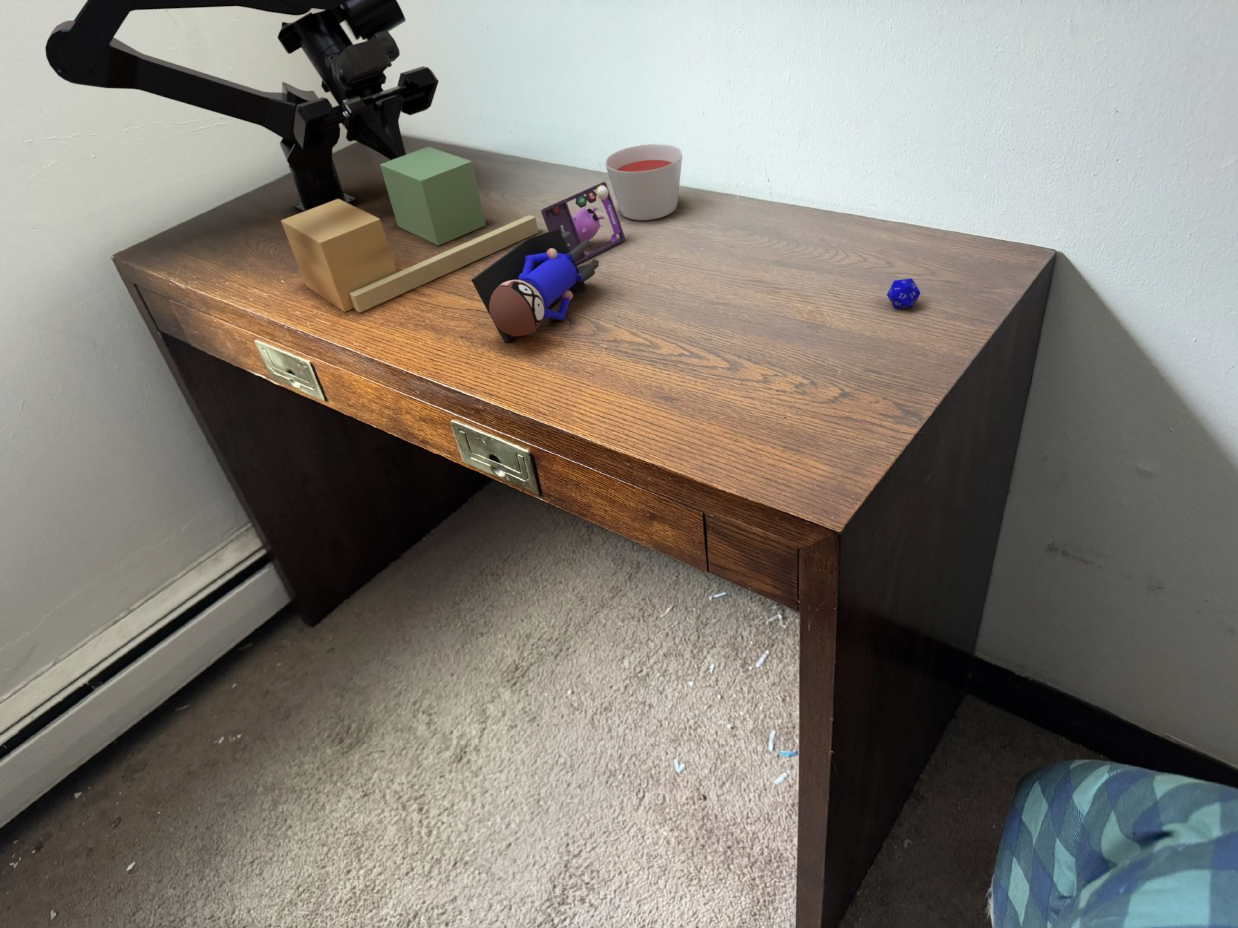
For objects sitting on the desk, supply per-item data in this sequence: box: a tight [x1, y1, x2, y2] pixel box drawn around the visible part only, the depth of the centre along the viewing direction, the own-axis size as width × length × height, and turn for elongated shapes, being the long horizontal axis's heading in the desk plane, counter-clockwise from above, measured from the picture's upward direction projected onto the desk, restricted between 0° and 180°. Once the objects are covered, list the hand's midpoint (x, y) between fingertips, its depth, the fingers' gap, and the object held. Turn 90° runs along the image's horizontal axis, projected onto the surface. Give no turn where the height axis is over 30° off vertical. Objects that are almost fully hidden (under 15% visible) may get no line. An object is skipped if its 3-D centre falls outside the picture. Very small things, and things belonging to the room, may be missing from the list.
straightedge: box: [350, 214, 539, 314], centre depth 98 cm, size 1×24×2 cm, turn 131°
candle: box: [604, 143, 683, 221], centre depth 103 cm, size 9×9×6 cm
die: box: [886, 277, 921, 310], centre depth 79 cm, size 3×3×3 cm
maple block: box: [280, 199, 397, 313], centre depth 95 cm, size 10×7×8 cm
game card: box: [540, 181, 626, 265], centre depth 97 cm, size 7×5×9 cm
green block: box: [379, 146, 487, 247], centre depth 106 cm, size 10×7×8 cm
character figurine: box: [470, 229, 600, 343], centre depth 84 cm, size 8×7×15 cm
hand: (404, 163), depth 109 cm, fingers closed
